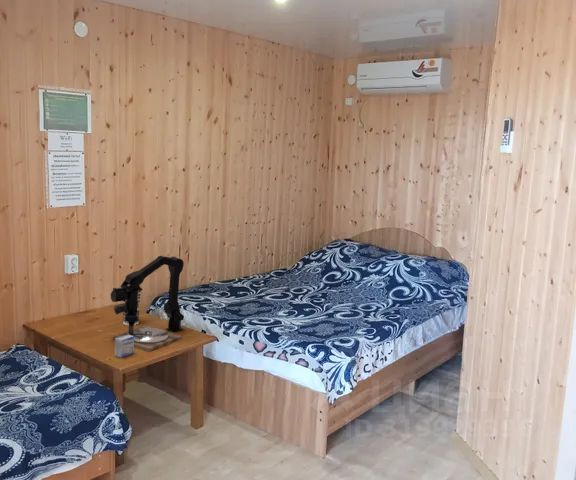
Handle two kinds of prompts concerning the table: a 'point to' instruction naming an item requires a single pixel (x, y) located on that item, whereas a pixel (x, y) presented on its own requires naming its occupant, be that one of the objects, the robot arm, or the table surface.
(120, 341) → the medicine box
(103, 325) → the table surface
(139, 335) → the dial
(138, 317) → the decorative candle
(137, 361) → the table surface
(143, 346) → the walnut stand
